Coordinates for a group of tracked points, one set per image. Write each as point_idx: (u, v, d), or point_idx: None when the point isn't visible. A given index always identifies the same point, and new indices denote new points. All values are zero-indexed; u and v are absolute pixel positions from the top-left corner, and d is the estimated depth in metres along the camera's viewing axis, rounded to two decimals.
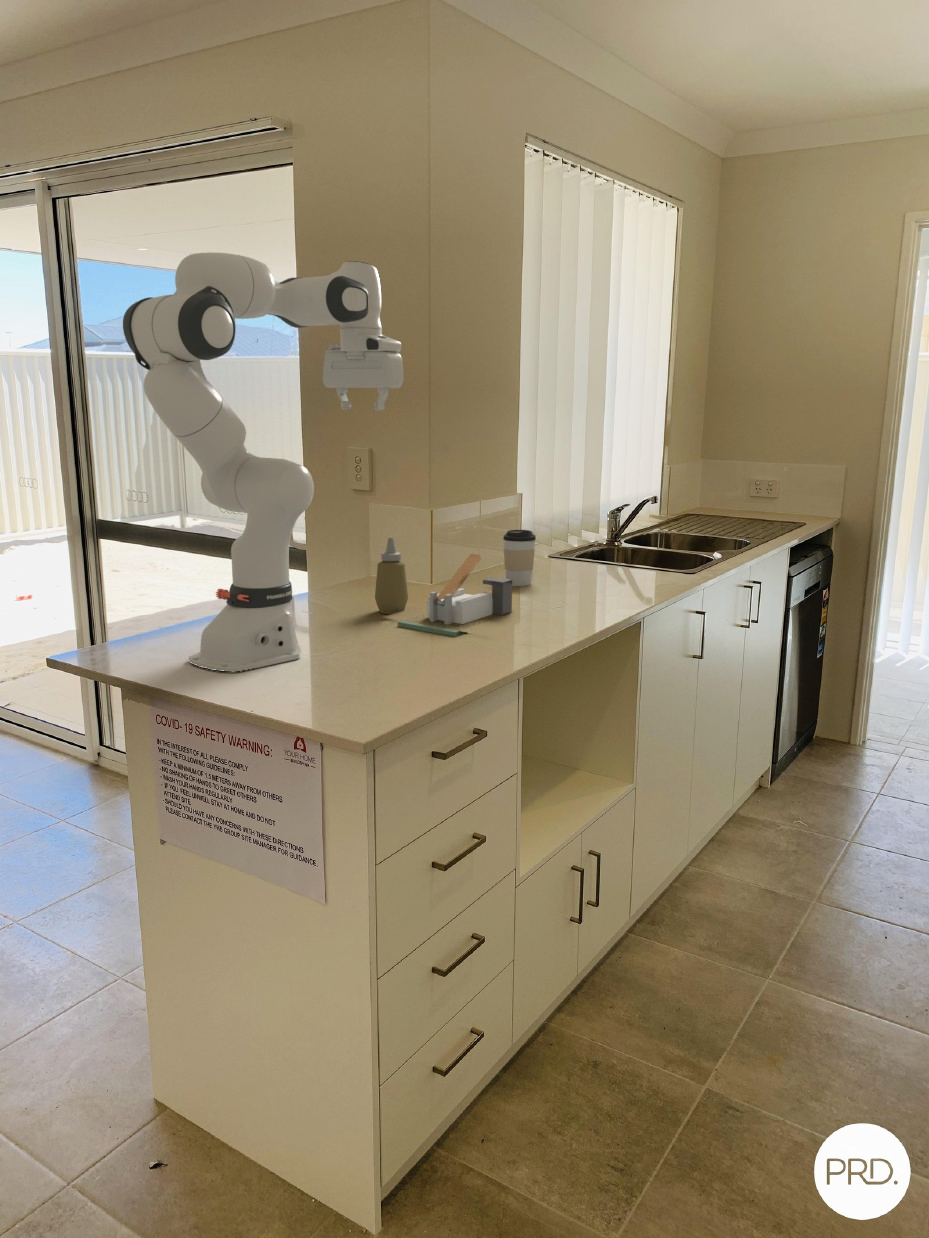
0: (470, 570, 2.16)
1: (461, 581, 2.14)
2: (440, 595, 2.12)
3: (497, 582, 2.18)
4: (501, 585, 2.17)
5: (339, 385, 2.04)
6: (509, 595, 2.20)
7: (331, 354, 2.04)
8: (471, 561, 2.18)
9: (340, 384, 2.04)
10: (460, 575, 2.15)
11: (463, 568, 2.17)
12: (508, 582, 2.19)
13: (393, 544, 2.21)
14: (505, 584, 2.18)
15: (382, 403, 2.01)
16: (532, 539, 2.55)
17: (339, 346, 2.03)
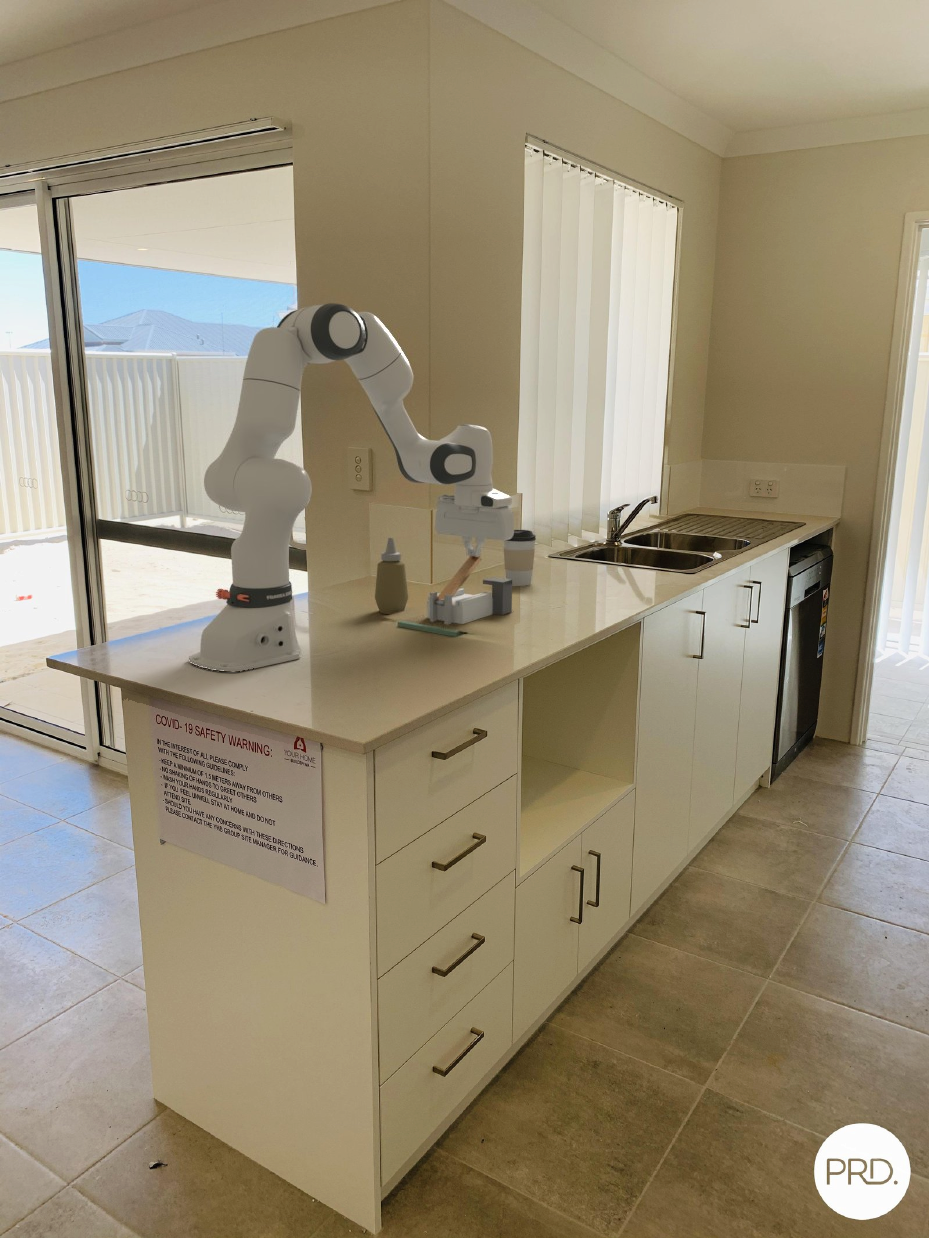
0: (470, 571, 2.16)
1: (461, 582, 2.14)
2: (440, 595, 2.12)
3: (497, 582, 2.18)
4: (501, 585, 2.17)
5: (451, 533, 2.19)
6: (509, 595, 2.20)
7: (444, 504, 2.19)
8: (471, 562, 2.18)
9: (452, 532, 2.19)
10: (460, 575, 2.15)
11: (463, 569, 2.17)
12: (508, 582, 2.19)
13: (393, 544, 2.21)
14: (505, 584, 2.18)
15: (479, 550, 2.18)
16: (532, 539, 2.55)
17: (451, 497, 2.18)
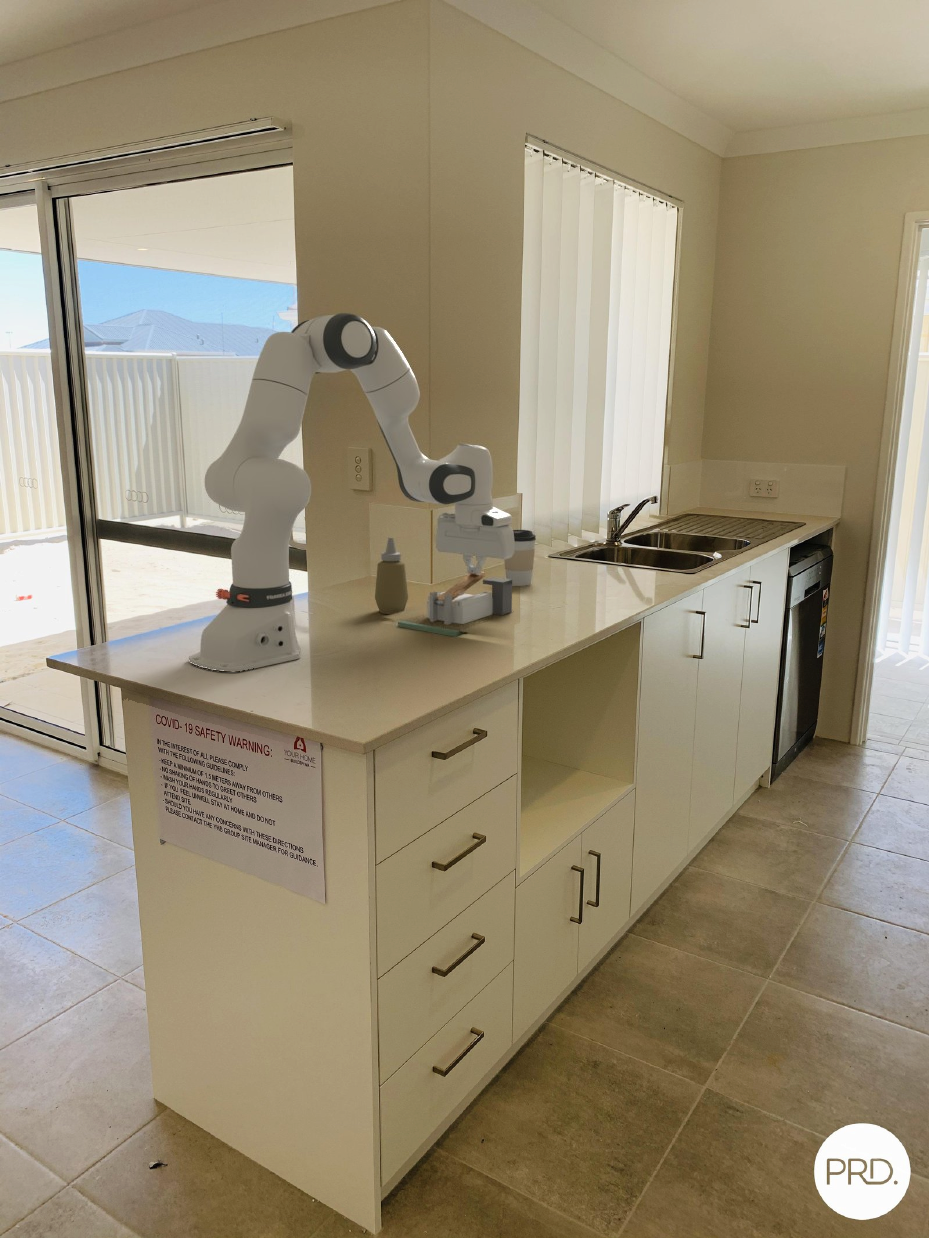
0: (473, 582, 2.18)
1: (463, 589, 2.15)
2: (441, 596, 2.12)
3: (497, 582, 2.18)
4: (501, 585, 2.17)
5: (452, 551, 2.20)
6: (509, 595, 2.20)
7: (444, 523, 2.20)
8: (475, 575, 2.20)
9: (453, 550, 2.20)
10: (463, 583, 2.16)
11: (466, 579, 2.18)
12: (508, 582, 2.19)
13: (393, 544, 2.21)
14: (505, 584, 2.18)
15: (480, 568, 2.19)
16: (532, 539, 2.55)
17: (452, 515, 2.20)
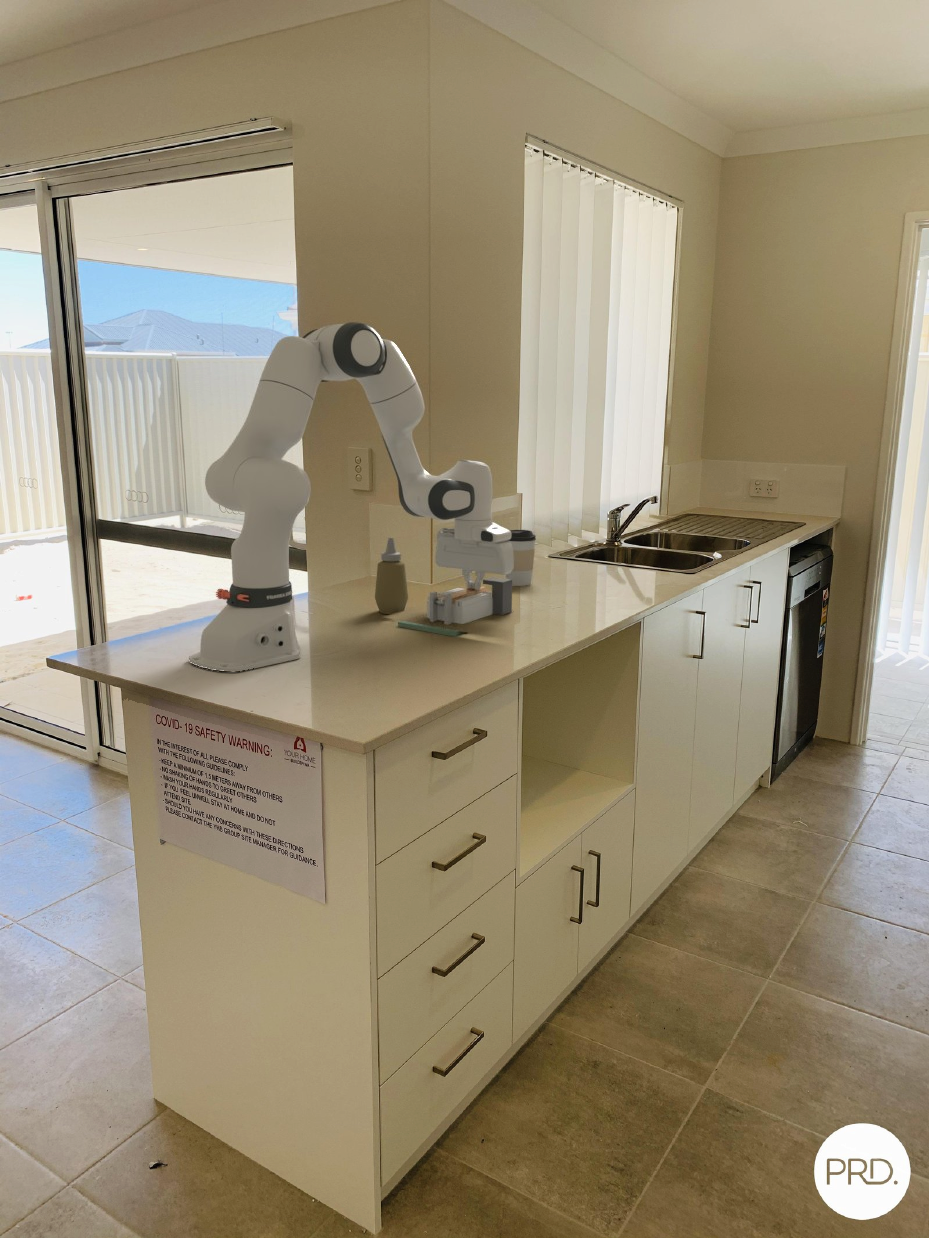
0: (474, 593, 2.19)
1: (464, 596, 2.16)
2: (441, 598, 2.12)
3: (497, 582, 2.18)
4: (501, 585, 2.17)
5: (451, 566, 2.21)
6: (509, 595, 2.20)
7: (444, 538, 2.20)
8: None
9: (452, 565, 2.21)
10: (464, 592, 2.17)
11: (467, 590, 2.19)
12: (508, 582, 2.19)
13: (393, 544, 2.21)
14: (505, 584, 2.18)
15: (479, 583, 2.20)
16: (532, 539, 2.55)
17: (451, 531, 2.20)
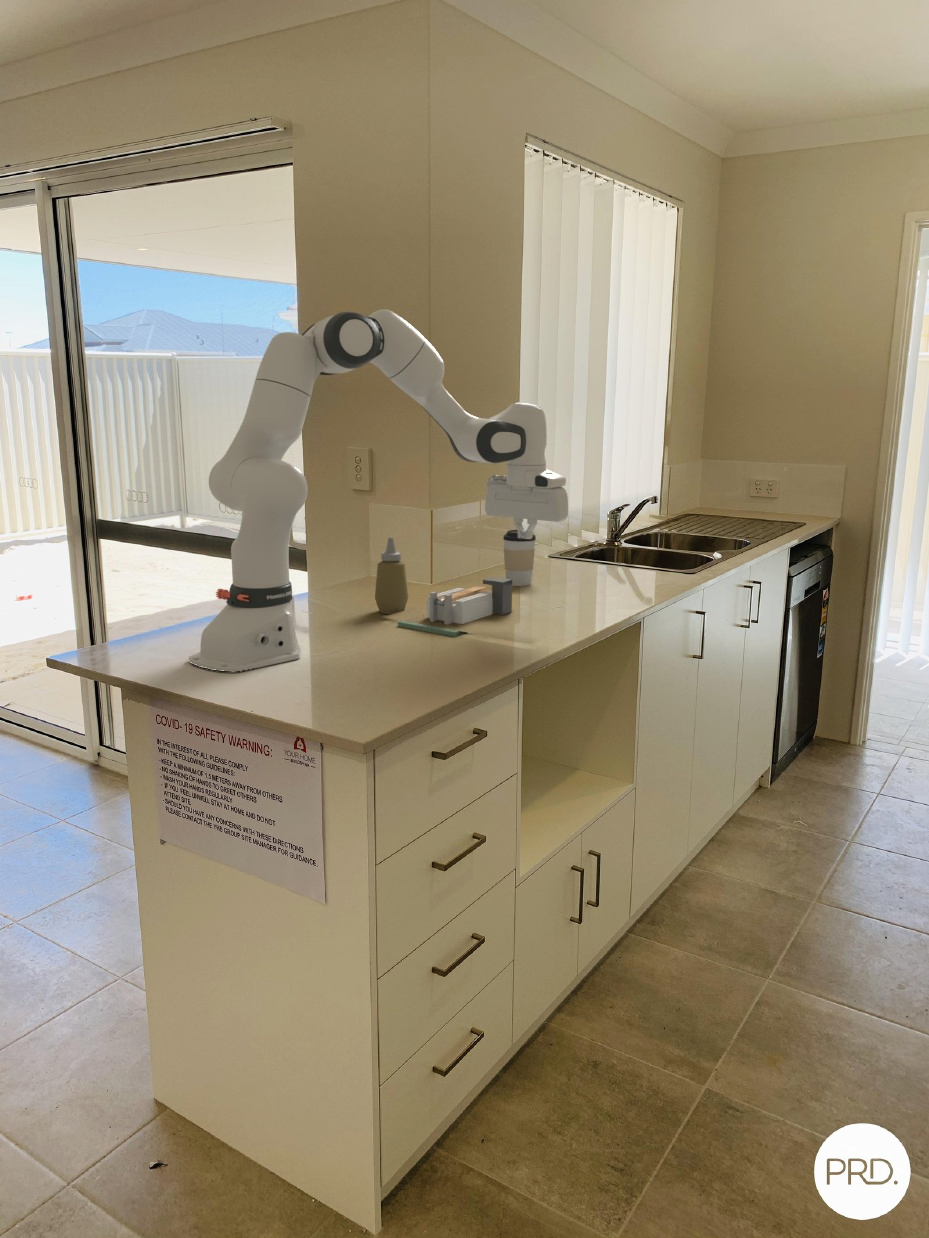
0: (474, 594, 2.19)
1: (464, 596, 2.16)
2: (441, 598, 2.12)
3: (497, 582, 2.18)
4: (501, 585, 2.17)
5: (502, 515, 2.14)
6: (509, 595, 2.20)
7: (495, 485, 2.13)
8: (477, 588, 2.21)
9: (503, 514, 2.14)
10: (464, 592, 2.17)
11: (467, 590, 2.19)
12: (508, 582, 2.19)
13: (393, 544, 2.21)
14: (505, 584, 2.18)
15: (531, 532, 2.13)
16: (532, 539, 2.55)
17: (503, 478, 2.13)
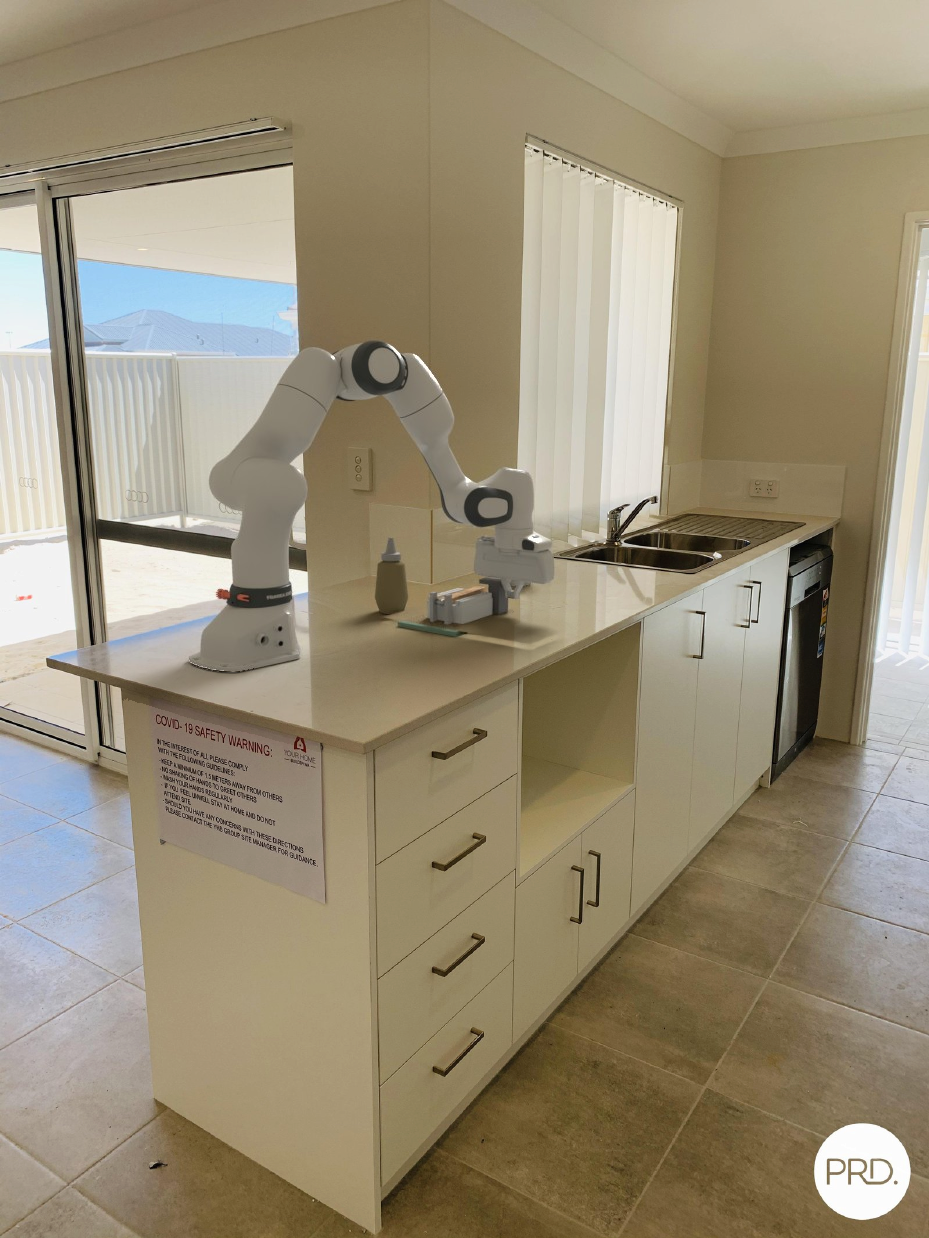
0: (474, 594, 2.19)
1: (464, 596, 2.16)
2: (441, 598, 2.12)
3: (493, 581, 2.18)
4: (497, 584, 2.18)
5: (490, 575, 2.19)
6: None
7: (483, 546, 2.18)
8: (477, 588, 2.21)
9: (491, 574, 2.18)
10: (464, 592, 2.17)
11: (467, 590, 2.19)
12: None
13: (393, 544, 2.21)
14: (501, 584, 2.19)
15: (518, 593, 2.17)
16: None
17: (491, 539, 2.18)
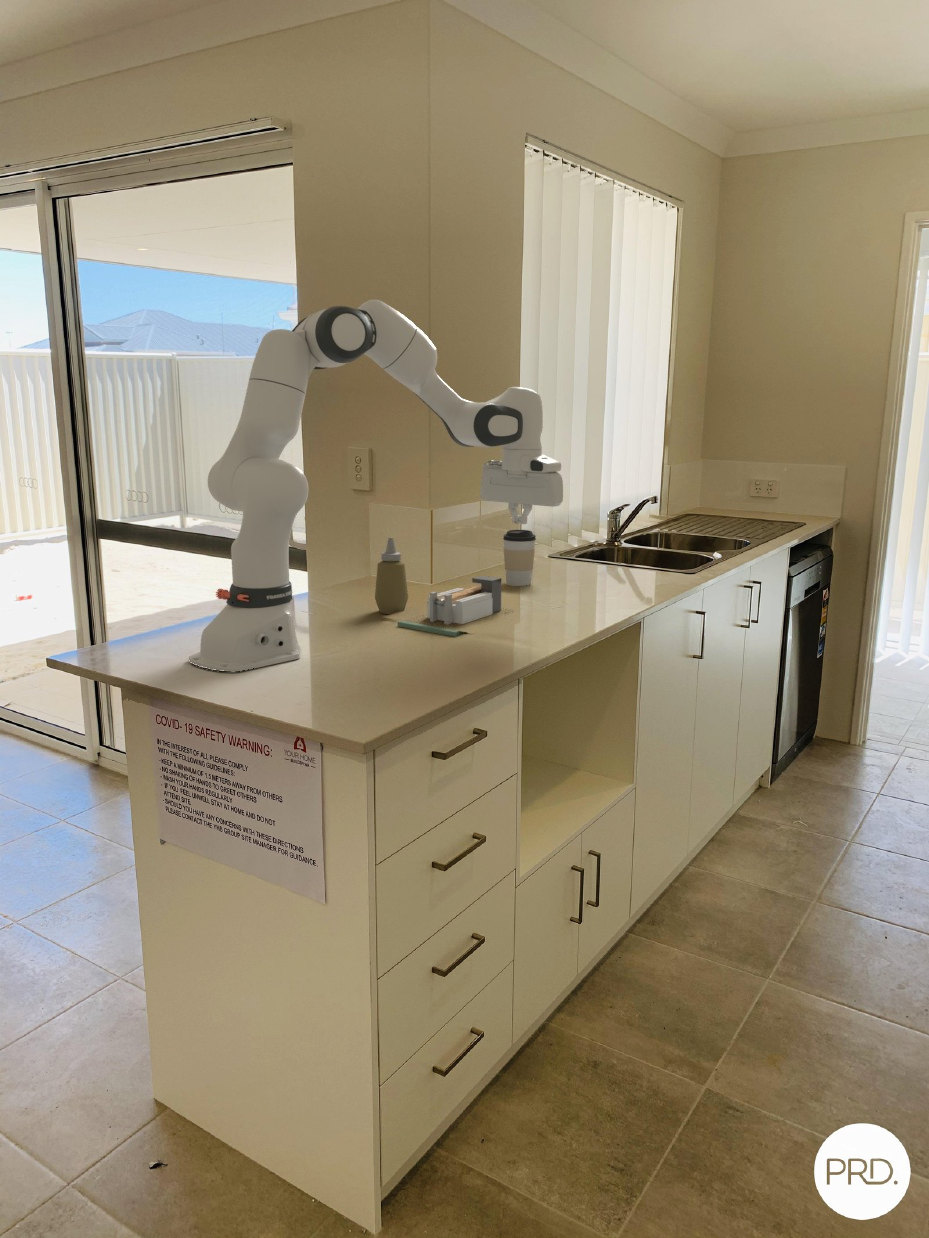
0: (474, 594, 2.19)
1: (464, 596, 2.16)
2: (441, 598, 2.12)
3: (486, 580, 2.19)
4: (490, 583, 2.19)
5: (497, 500, 2.14)
6: (498, 593, 2.22)
7: (490, 470, 2.13)
8: (477, 588, 2.21)
9: (498, 499, 2.13)
10: (464, 592, 2.17)
11: (467, 590, 2.19)
12: (497, 580, 2.21)
13: (393, 544, 2.21)
14: (494, 583, 2.20)
15: (525, 518, 2.13)
16: (532, 539, 2.55)
17: (498, 463, 2.13)
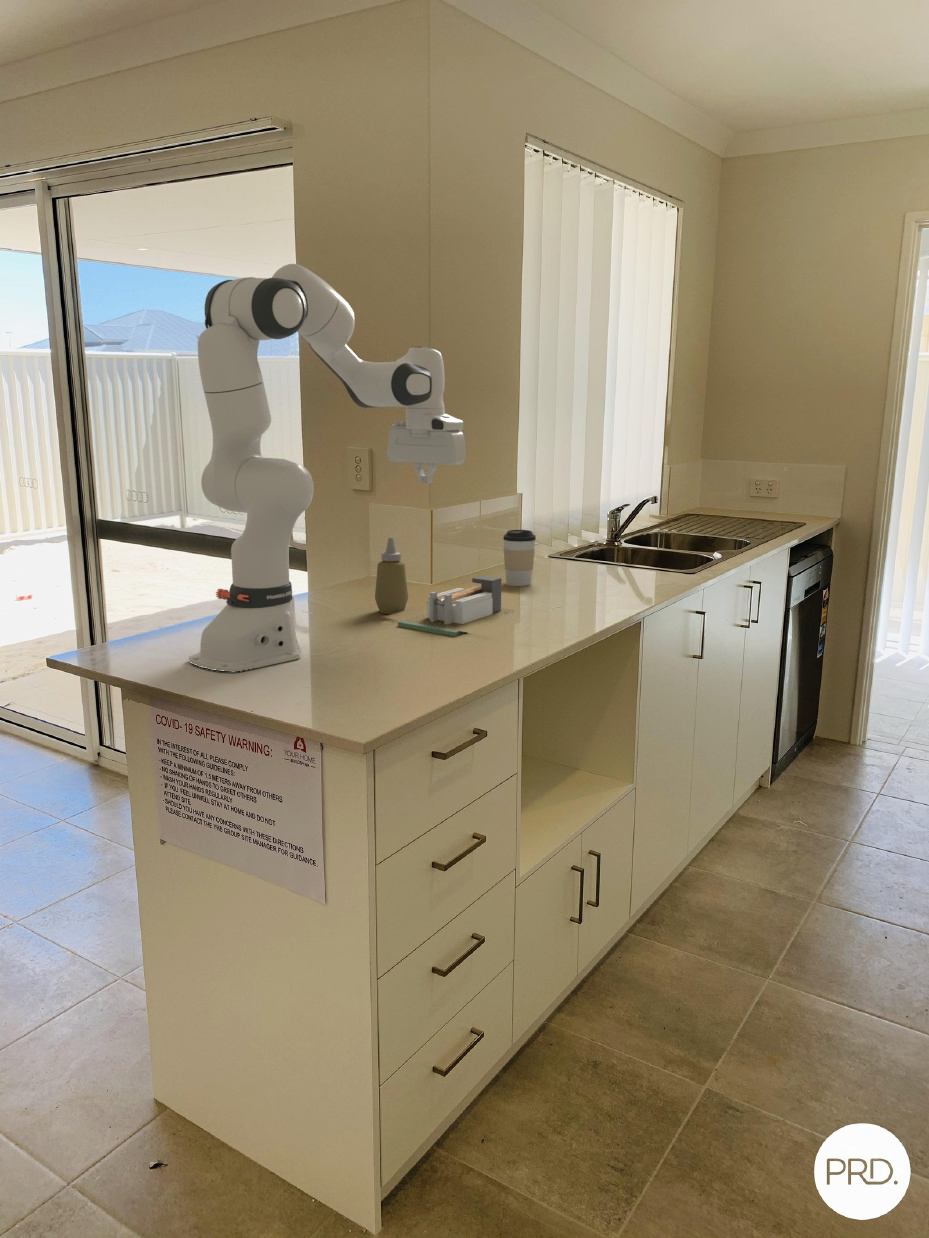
0: (474, 594, 2.19)
1: (464, 596, 2.16)
2: (441, 598, 2.12)
3: (486, 580, 2.19)
4: (490, 583, 2.19)
5: (403, 459, 2.16)
6: (498, 593, 2.22)
7: (396, 430, 2.16)
8: (477, 588, 2.21)
9: (404, 459, 2.16)
10: (464, 592, 2.17)
11: (467, 590, 2.19)
12: (497, 580, 2.21)
13: (393, 544, 2.21)
14: (494, 583, 2.20)
15: (431, 477, 2.15)
16: (532, 539, 2.55)
17: (403, 423, 2.16)
